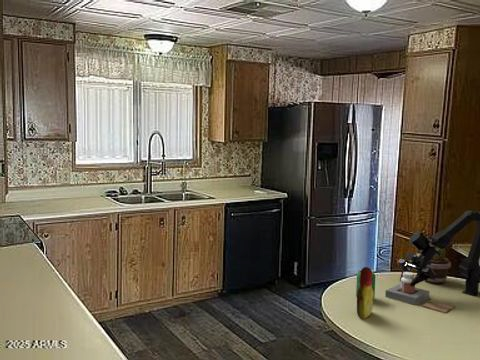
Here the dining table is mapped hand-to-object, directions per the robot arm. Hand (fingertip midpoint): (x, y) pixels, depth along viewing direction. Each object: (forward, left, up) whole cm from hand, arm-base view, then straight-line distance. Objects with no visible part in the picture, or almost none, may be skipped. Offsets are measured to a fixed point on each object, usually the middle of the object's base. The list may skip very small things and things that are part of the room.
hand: (405, 283), depth 220 cm
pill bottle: (-1, 0, -7) cm, 7 cm away
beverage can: (+15, -12, -7) cm, 20 cm away
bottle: (+33, -2, -7) cm, 33 cm away
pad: (+1, +15, -7) cm, 17 cm away
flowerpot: (-34, -2, -7) cm, 35 cm away
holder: (-1, 0, -7) cm, 7 cm away
